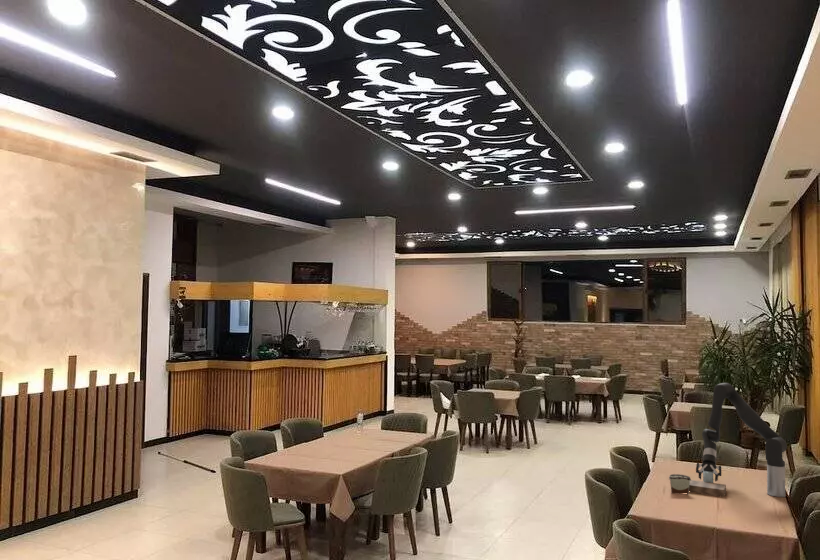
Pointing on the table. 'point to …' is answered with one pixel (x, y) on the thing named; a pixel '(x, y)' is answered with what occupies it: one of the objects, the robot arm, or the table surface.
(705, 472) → the ceramic jar
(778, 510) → the table surface
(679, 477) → the food container
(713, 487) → the walnut stand
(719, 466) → the robot arm
